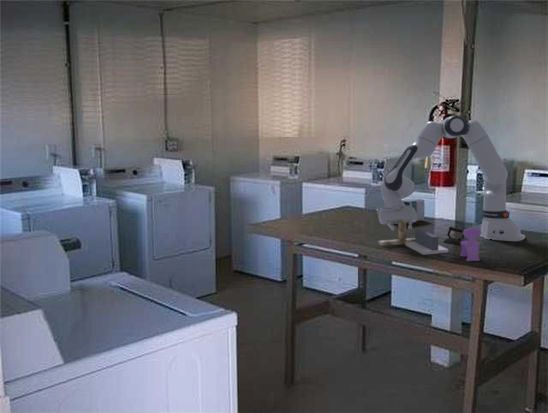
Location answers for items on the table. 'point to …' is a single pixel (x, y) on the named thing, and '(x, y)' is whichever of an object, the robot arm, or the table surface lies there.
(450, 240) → the clothes iron
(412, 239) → the balance beam
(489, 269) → the table surface
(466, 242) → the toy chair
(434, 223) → the table surface
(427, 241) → the ridge stand
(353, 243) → the table surface
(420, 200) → the stereo radio cassette player
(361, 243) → the table surface
